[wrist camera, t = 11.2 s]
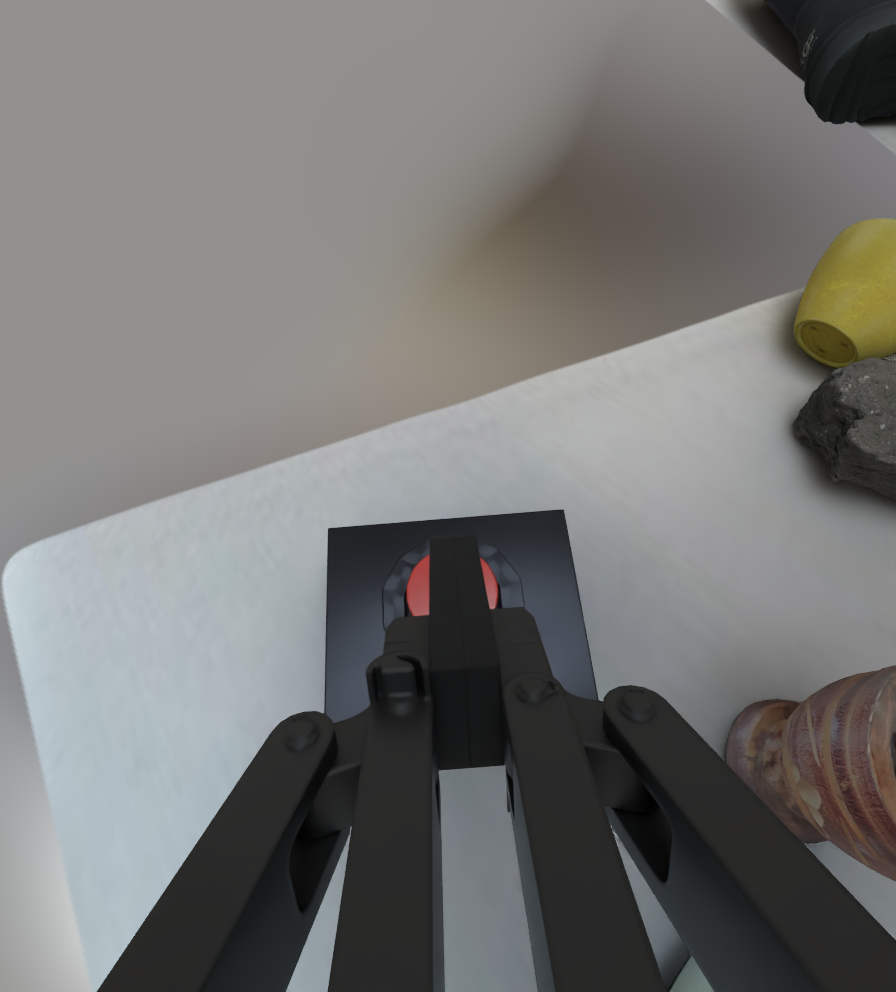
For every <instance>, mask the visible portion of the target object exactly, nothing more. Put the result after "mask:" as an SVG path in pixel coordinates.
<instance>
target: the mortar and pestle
mask: <svg viewBox="0 0 896 992" xmlns="http://www.w3.org/2000/svg"><path fill="white" fill-rule="evenodd" d="M727 765H728V766H729V767H730V768H731V769H732V770H733V771H734V772H735V773H736V774H737V775H738V776H739V777H740V778H741V779H742V780H743V781H744V782H745V783H746V785H747V786H748V787H749V788H750V789H751V790H752V791H753V792H754V793H755V794H756V795H757V796H758V797H759V798H760V799H761V800H762V801H763V802H764V803H765V804H766V805H767V806H768V808H769V809H770V810H771V811H772V812H773V813H774V814H775V815H776V816H777V817H778V818H779V819H780V820H781V821H782V822H783V823H784V824H785V825H786V826H787V827H788V828H789V830H790V831H791V832H792V833H793V834H794V835H795V836H796V837H797V838H798V839H799V840H800V841H801V842H803V843H819V842H823V841H827V840H829V841H830V842H832V843H833V844H835V845H836V846H837V847H839V848H840V849H841V850H842V851H844V852H845V853H847V854H849V855H850V856H852V857H853V858H855V859H856V860H858V861H859V862H861V863H862V864H864V865H866V866H867V867H869V868H870V869H872V870H874V871H876V872H878V873H880V874H882V875H884V876H886V877H888V878H890V879H892V880H894V881H896V665H895V666H891V667H887V668H883V669H881V670H878V671H872V672H867V673H861V674H856V675H853V676H849V677H846V678H843V679H841V680H838V681H836V682H834V683H831V684H829V685H827V686H825V687H824V688H822V689H821V690H819V691H817V692H816V693H814V694H813V695H811V696H810V697H808V698H807V699H806V700H804V701H803V702H802V703H798V702H794V701H786V700H780V699H775V700H766V701H761V702H756V703H753V704H752V705H750V706H748V707H747V708H745V709H744V710H743V711H742V712H741V713H740V714H739V716H738V717H737V719H736V720H735V722H734V724H733V726H732V728H731V731H730V734H729V737H728V742H727Z"/></svg>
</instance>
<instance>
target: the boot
mask: <svg viewBox="0 0 896 992" xmlns="http://www.w3.org/2000/svg"><path fill="white" fill-rule="evenodd" d="M764 1H765V2H766V3H767V4H768V5H769V6H770V7H771V8H772V10H773V11H774V12H775V13H776V15H777V16H778V17H779V18H780V19H781V21H782V22H783V23H784V25H785V26H786V27H787V28H788V30H789V31H790V32H791V33H792V35H793V36H794V37H795V38H796V41H797V44H798V48H799V58H800V64H801V71H802V74H803V77H804V78H805V87H804V93H805V98H806V100H807V102H808V103H809V104H810V105H811V106H812V107H813V109H814V110H815V112H816V114H817V116H818V117H819V118H820V119H821V120H822V121H824V122H827V121H828V122H832V123H833V124H842V123H845V122H846V121H847V122H850V123H853V122H855V121H856V120H859V121H860V122H861V121H864V120H865V119H866V118H874V117H879V116H881V117H888V116H893V115H896V0H764Z"/></svg>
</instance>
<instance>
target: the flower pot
mask: <svg viewBox="0 0 896 992" xmlns="http://www.w3.org/2000/svg"><path fill="white" fill-rule="evenodd" d="M794 336H795V338H796V341H797V342H798V344H799V346H800V347H801V348H802V349H803V350H804V351H805V352H806V353H807V354H808V355H809V356H811V357H812V358H813V359H815V360H817V361H818V362H820V363H822V364H825V365H828V366H831V367H835V368H843V367H846V366H848V365H849V364H851V363H854V362H859V361H862V360H865V359H867V358H872V357H874V358H880V359H881V358H883V357H886V356H889V355H891V354H893V353H896V219H889V218H879V219H878V218H877V219H869V220H865V221H860V222H858V223H855V224H853V225H851V226H849V227H847V228H846V229H844V230H843V231H842V232H841V233H840V234H839V235H838V236H837V237H836V238H835V240H834V241H833V242H832V243H831V245H830V246H829V248H828V249H827V250H826V252H825V253H824V255H823V256H822V258H821V259H820V261H819V263H818V264H817V266H816V268H815V270H814V271H813V273H812V275H811V277H810V279H809V281H808V284H807V286H806V288H805V291H804V293H803V296H802V299H801V301H800V304H799V307H798V311H797V316H796V320H795V326H794Z"/></svg>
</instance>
